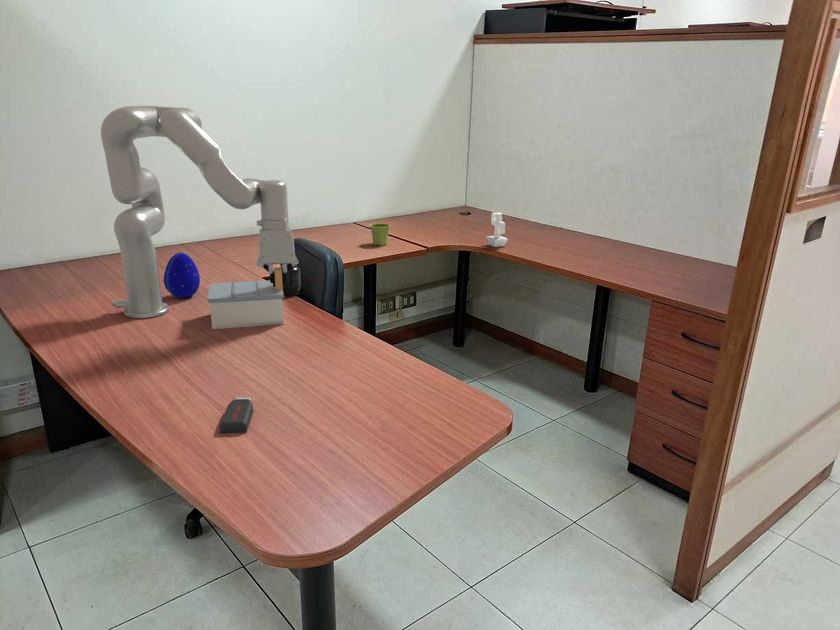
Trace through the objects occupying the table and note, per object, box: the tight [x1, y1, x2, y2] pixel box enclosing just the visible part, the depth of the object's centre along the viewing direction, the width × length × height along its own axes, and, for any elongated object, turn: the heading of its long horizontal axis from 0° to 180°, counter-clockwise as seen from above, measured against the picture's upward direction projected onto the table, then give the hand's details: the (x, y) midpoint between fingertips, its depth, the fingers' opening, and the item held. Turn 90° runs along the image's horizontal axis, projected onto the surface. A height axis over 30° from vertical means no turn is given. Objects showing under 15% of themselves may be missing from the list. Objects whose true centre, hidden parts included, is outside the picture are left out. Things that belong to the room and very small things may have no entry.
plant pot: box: [369, 222, 391, 247], centre depth 278 cm, size 9×9×9 cm
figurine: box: [486, 212, 509, 248], centre depth 280 cm, size 7×9×15 cm
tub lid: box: [206, 264, 285, 303], centre depth 182 cm, size 21×15×7 cm
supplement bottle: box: [281, 263, 301, 297], centre depth 207 cm, size 7×7×12 cm
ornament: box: [163, 251, 201, 299], centre depth 201 cm, size 11×9×15 cm
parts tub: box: [209, 298, 284, 330], centre depth 185 cm, size 20×14×8 cm
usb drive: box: [219, 397, 254, 434], centre depth 130 cm, size 5×12×3 cm, turn 6°
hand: (278, 284), depth 185 cm, fingers closed on tub lid, 2 cm apart
